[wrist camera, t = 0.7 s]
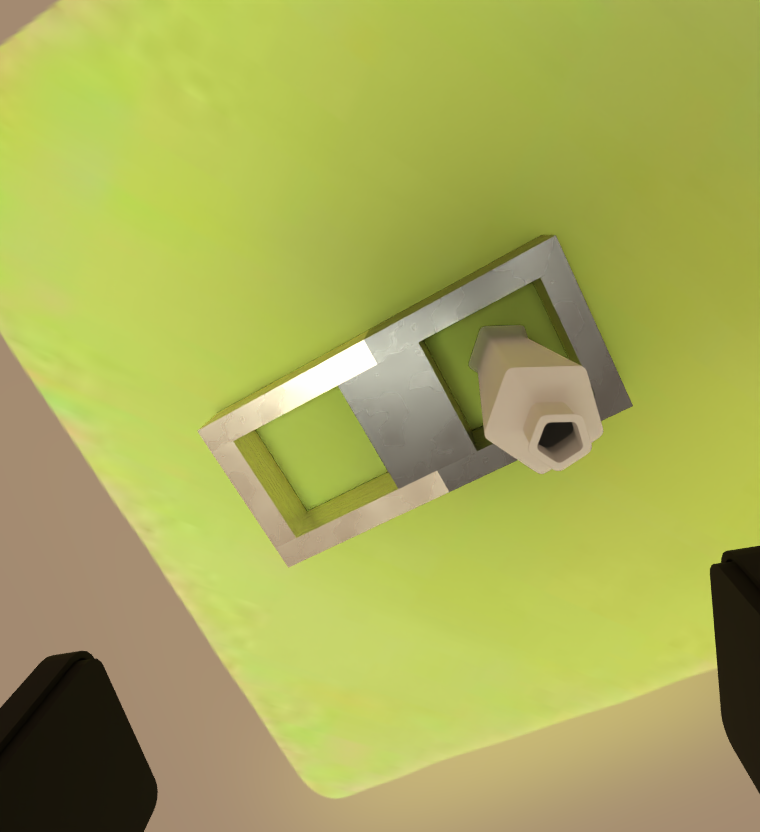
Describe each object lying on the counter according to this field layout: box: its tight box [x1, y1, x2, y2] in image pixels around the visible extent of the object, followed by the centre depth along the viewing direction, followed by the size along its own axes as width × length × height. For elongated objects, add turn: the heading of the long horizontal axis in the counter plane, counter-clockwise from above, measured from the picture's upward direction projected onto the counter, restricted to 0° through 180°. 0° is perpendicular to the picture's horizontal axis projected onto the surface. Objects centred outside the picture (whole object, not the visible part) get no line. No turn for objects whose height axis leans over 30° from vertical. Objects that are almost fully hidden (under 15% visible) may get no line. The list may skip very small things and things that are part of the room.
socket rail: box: [198, 235, 633, 567], centre depth 34 cm, size 22×10×4 cm, turn 119°
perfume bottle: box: [469, 325, 603, 474], centre depth 27 cm, size 5×4×15 cm
